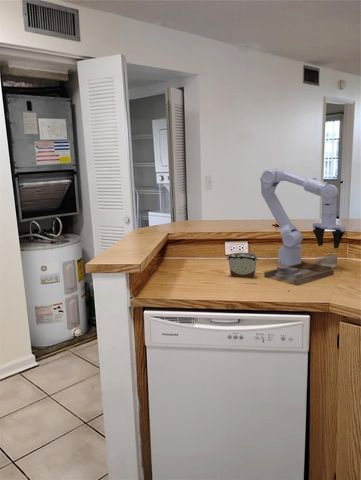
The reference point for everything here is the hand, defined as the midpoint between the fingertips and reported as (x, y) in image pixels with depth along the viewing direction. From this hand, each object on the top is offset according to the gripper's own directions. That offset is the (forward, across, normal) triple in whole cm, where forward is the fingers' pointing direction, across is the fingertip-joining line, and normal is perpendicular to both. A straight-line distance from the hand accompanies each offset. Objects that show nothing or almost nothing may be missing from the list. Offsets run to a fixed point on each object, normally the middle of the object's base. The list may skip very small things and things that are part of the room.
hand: (328, 246), depth 172 cm
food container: (+10, -15, -34) cm, 38 cm away
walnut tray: (+10, 0, -19) cm, 21 cm away
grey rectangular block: (+10, 0, -1) cm, 10 cm away
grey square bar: (+9, 0, -25) cm, 26 cm away
